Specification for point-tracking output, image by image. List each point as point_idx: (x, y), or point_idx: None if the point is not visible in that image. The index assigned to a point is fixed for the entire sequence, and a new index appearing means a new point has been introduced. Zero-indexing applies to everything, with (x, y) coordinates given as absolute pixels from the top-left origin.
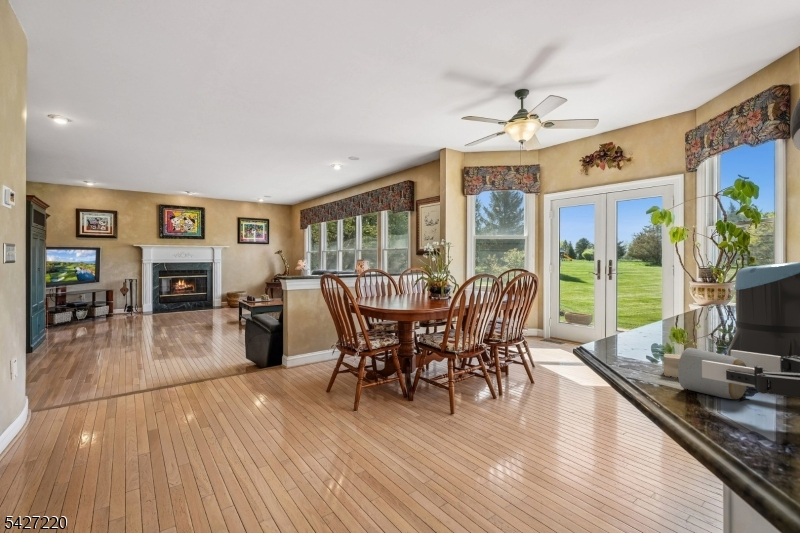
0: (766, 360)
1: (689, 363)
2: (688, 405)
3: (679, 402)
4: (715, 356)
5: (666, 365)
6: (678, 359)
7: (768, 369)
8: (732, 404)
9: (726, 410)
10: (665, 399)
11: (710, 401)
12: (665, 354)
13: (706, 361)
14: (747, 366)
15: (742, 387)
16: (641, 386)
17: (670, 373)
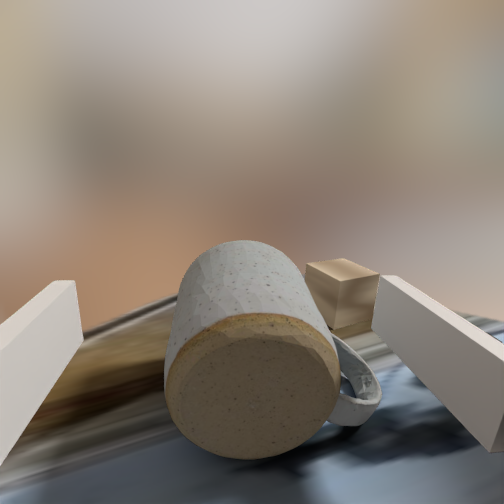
0: (457, 360)
1: (182, 286)
2: (41, 410)
3: (63, 388)
4: (220, 281)
5: (307, 284)
6: (326, 276)
7: (451, 404)
8: (167, 474)
9: (50, 496)
10: (73, 365)
11: (147, 423)
12: (335, 260)
13: (48, 287)
14: (400, 353)
15: (276, 428)
16: (162, 315)
17: None
